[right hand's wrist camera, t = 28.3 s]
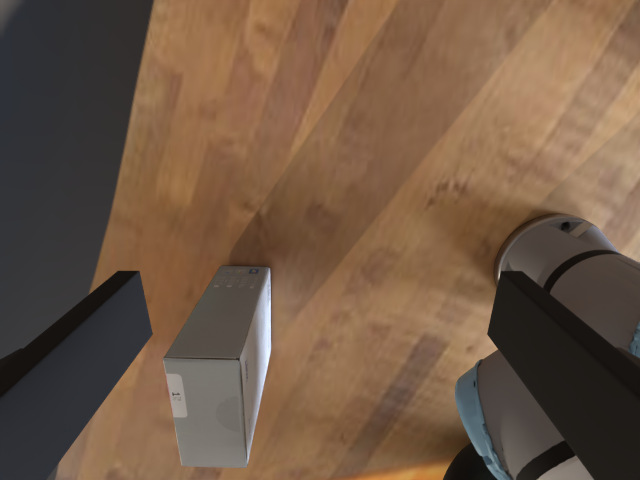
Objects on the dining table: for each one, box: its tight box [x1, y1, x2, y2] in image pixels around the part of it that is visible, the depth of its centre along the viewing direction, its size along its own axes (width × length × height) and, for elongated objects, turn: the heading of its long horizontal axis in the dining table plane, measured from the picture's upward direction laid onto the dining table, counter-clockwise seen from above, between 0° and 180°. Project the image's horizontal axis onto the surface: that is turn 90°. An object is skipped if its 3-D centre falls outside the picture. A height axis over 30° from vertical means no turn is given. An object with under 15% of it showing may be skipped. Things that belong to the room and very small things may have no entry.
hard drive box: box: [163, 266, 271, 468], centre depth 45 cm, size 16×8×20 cm, turn 178°
